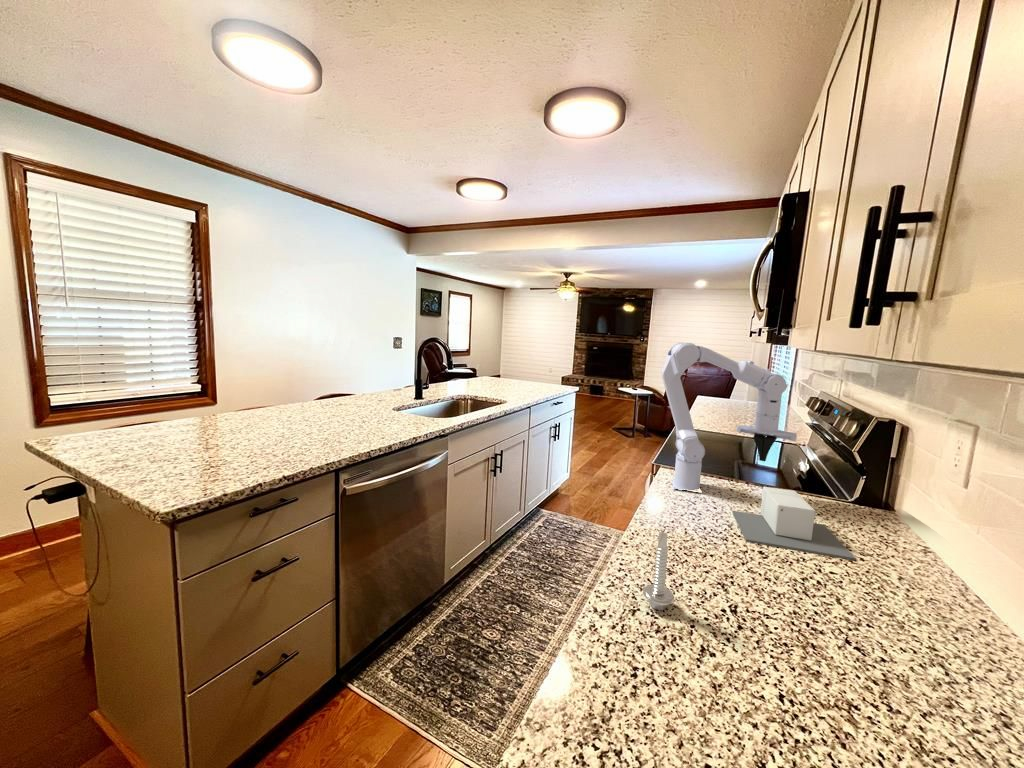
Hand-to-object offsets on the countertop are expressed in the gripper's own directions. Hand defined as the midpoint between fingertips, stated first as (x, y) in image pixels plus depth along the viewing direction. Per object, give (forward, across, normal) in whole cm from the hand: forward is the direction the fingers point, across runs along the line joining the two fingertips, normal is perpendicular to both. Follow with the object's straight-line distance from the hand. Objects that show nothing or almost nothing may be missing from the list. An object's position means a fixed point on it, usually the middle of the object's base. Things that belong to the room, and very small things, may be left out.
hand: (762, 460), depth 115 cm
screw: (+11, -4, -70) cm, 71 cm away
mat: (+10, +9, -24) cm, 28 cm away
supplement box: (+6, +6, -15) cm, 17 cm away
